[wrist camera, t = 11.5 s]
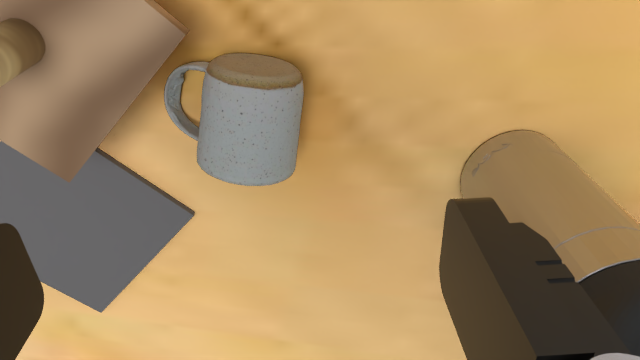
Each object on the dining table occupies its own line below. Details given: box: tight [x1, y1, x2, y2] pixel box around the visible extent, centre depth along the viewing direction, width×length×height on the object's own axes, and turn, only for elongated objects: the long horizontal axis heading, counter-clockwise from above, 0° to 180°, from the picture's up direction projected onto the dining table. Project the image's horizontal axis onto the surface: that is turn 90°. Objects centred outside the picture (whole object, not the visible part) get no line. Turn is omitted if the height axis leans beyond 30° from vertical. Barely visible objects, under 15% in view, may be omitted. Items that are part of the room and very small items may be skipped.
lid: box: [0, 0, 189, 183], centre depth 27 cm, size 14×14×7 cm
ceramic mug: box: [164, 53, 304, 186], centre depth 36 cm, size 11×8×8 cm
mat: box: [0, 141, 195, 312], centre depth 44 cm, size 16×16×1 cm
